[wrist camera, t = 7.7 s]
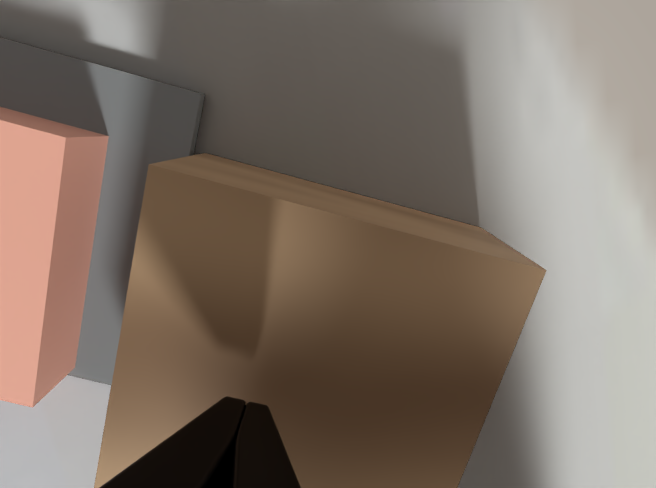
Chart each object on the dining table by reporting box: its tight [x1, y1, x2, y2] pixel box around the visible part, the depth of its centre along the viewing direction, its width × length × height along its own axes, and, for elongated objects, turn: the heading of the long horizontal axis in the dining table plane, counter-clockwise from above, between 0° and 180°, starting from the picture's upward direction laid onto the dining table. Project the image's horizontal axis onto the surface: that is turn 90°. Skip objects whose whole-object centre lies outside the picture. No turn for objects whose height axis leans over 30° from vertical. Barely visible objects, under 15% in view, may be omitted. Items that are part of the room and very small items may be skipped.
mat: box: [0, 37, 205, 385], centre depth 13 cm, size 9×8×1 cm
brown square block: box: [94, 153, 546, 488], centre depth 12 cm, size 8×8×4 cm
